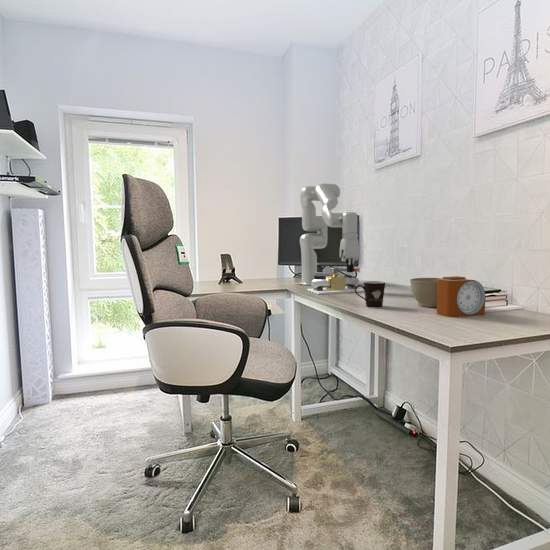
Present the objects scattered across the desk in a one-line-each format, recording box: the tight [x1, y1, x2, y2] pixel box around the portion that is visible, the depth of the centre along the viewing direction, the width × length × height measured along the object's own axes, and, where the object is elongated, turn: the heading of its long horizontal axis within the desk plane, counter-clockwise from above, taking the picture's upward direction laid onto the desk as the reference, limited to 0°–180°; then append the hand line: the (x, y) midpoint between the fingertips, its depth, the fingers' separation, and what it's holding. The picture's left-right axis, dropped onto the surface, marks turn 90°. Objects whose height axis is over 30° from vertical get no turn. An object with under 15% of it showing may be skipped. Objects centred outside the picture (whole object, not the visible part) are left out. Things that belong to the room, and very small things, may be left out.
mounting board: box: [306, 286, 365, 295], centre depth 203 cm, size 16×27×1 cm, turn 107°
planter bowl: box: [409, 277, 441, 308], centre depth 154 cm, size 16×16×11 cm
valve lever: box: [331, 267, 361, 273], centre depth 201 cm, size 15×4×2 cm, turn 65°
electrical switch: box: [314, 271, 331, 280], centre depth 216 cm, size 9×5×9 cm, turn 57°
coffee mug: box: [354, 280, 386, 308], centre depth 156 cm, size 12×9×10 cm
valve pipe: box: [310, 271, 360, 291], centre depth 203 cm, size 7×26×10 cm, turn 107°
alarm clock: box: [436, 275, 486, 318], centre depth 137 cm, size 15×8×14 cm, turn 105°
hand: (349, 272), depth 196 cm, fingers closed
